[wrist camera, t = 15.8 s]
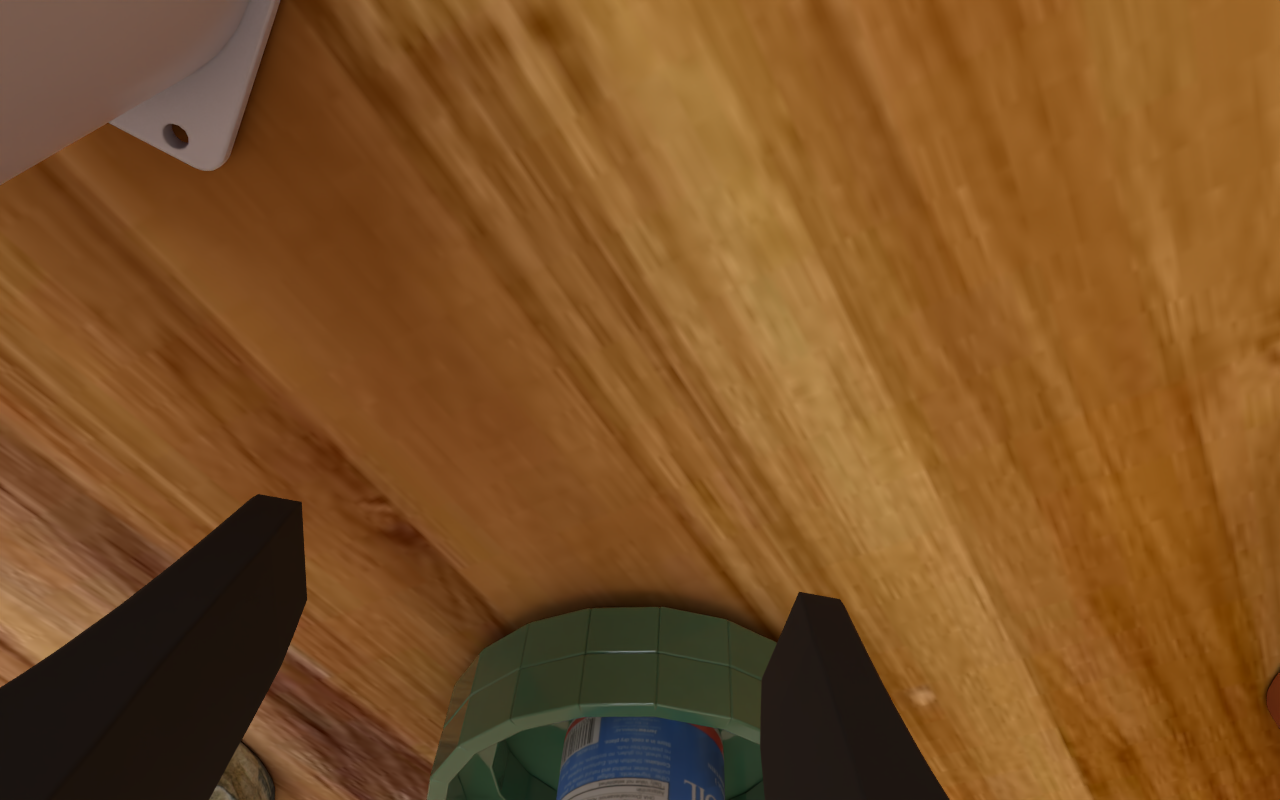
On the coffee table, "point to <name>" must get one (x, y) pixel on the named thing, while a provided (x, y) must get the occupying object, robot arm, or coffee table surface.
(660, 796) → the pill bottle
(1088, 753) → the coffee table surface
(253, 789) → the seashell
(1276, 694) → the alarm clock
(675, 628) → the bowl
